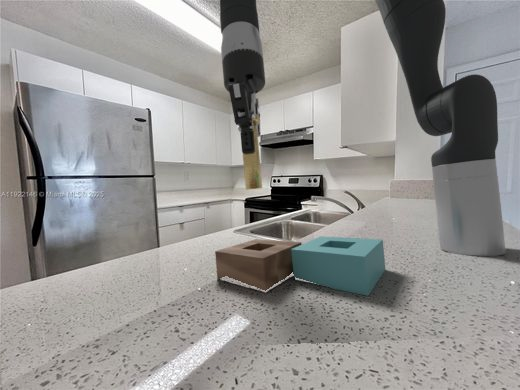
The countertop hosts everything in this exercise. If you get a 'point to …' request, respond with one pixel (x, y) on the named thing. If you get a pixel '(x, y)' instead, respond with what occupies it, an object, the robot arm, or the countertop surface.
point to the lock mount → (256, 262)
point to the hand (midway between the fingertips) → (251, 154)
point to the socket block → (340, 263)
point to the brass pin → (253, 163)
